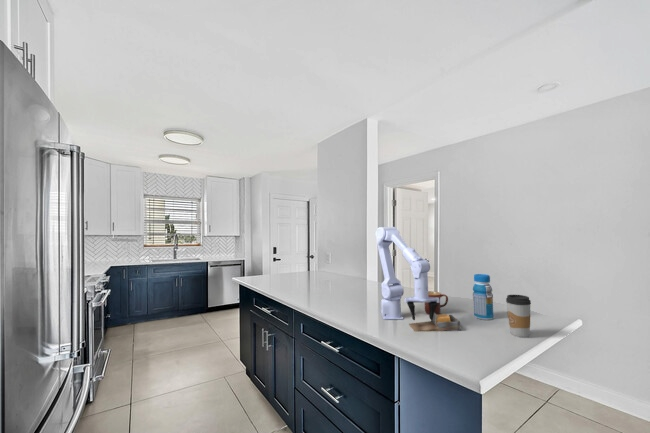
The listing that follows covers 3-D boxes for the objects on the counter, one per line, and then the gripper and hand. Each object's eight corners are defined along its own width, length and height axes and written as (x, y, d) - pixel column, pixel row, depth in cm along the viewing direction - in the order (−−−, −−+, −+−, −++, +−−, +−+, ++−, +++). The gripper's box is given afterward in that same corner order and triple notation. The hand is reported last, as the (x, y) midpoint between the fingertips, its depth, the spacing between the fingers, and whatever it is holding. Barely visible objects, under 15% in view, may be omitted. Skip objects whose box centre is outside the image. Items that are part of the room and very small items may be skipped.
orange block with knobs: (436, 326, 125) (435, 315, 125) (431, 321, 131) (431, 311, 131) (451, 326, 124) (451, 315, 125) (446, 321, 131) (445, 311, 131)
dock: (414, 333, 123) (413, 322, 123) (408, 325, 133) (408, 315, 133) (460, 333, 122) (460, 321, 123) (451, 325, 132) (451, 314, 132)
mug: (425, 316, 144) (424, 295, 144) (421, 311, 152) (420, 291, 153) (451, 316, 142) (450, 295, 143) (445, 311, 151) (444, 291, 152)
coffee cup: (502, 331, 120) (500, 294, 121) (522, 330, 121) (520, 293, 121) (517, 339, 112) (515, 299, 112) (538, 338, 113) (536, 298, 113)
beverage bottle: (474, 319, 137) (472, 276, 138) (473, 314, 145) (471, 273, 146) (495, 321, 134) (493, 276, 135) (492, 315, 142) (490, 274, 143)
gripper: (406, 289, 125) (407, 322, 124) (441, 289, 124) (442, 322, 124) (402, 286, 132) (404, 317, 132) (435, 286, 131) (437, 317, 131)
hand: (422, 319), depth 128 cm, fingers open, 7 cm apart
